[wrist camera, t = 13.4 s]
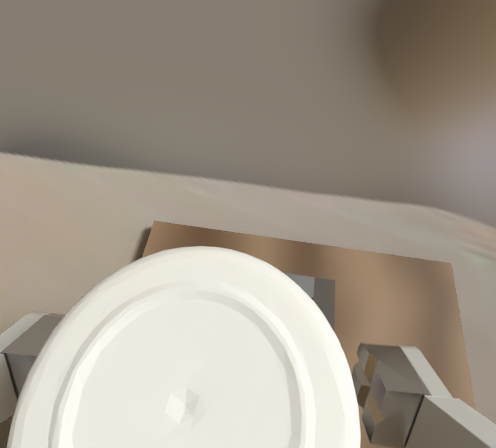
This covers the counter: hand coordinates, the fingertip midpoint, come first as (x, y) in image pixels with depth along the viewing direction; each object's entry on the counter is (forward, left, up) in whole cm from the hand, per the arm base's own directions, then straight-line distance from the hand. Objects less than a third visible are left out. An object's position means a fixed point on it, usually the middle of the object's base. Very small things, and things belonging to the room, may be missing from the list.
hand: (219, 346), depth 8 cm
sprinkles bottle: (0, -1, -9) cm, 9 cm away
